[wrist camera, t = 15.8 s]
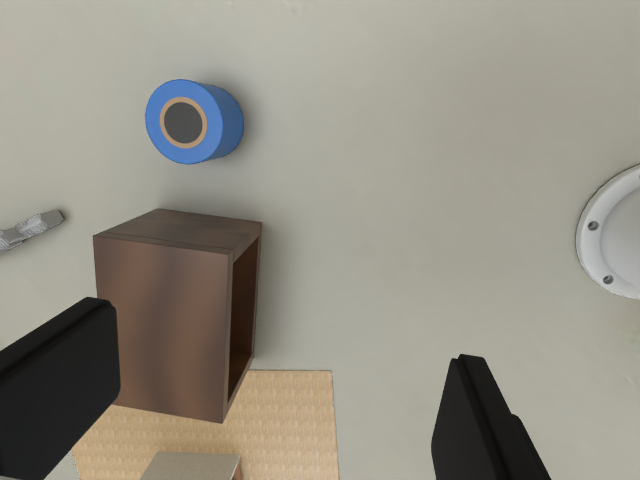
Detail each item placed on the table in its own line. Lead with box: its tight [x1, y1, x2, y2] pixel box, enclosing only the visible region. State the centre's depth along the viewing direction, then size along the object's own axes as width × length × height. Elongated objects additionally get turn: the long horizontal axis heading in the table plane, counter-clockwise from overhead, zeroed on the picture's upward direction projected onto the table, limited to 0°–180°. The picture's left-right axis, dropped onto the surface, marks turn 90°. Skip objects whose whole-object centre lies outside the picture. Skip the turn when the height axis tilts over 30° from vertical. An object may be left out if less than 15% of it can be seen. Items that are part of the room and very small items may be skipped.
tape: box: [145, 79, 244, 164], centre depth 34 cm, size 7×7×6 cm
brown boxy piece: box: [93, 209, 262, 424], centre depth 38 cm, size 11×16×10 cm
